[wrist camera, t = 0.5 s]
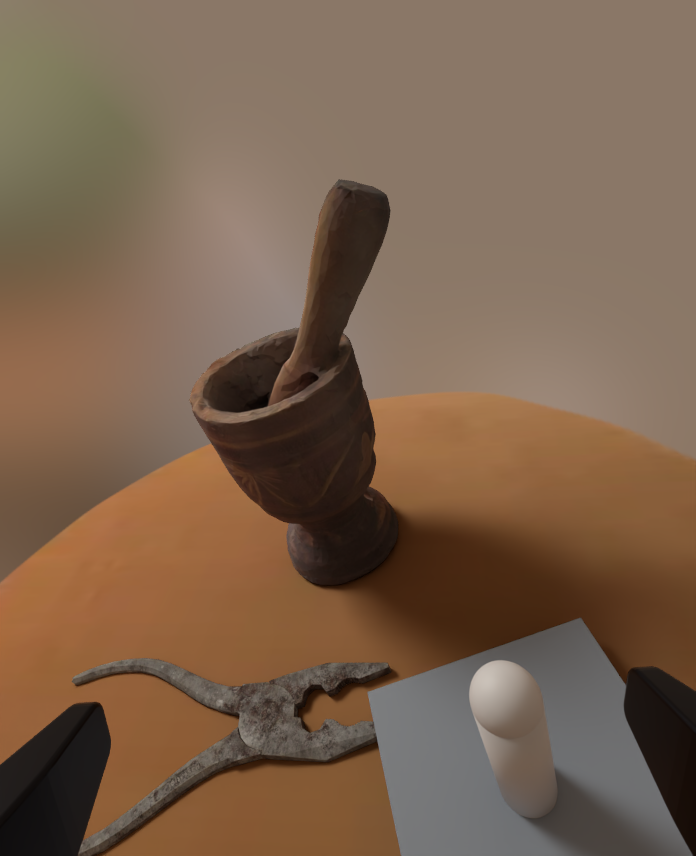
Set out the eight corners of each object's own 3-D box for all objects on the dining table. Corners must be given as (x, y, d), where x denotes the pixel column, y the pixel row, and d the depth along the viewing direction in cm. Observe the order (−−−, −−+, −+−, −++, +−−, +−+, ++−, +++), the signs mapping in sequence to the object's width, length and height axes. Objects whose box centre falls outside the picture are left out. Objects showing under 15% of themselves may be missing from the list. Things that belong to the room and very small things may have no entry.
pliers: (45, 683, 29) (356, 560, 29) (54, 690, 29) (360, 569, 29) (-25, 898, 21) (406, 727, 21) (-10, 903, 21) (411, 735, 21)
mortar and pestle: (414, 454, 36) (327, 163, 25) (482, 526, 29) (402, 164, 18) (273, 527, 34) (111, 252, 23) (307, 623, 27) (99, 291, 16)
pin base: (781, 945, 14) (878, 856, 9) (451, 1053, 14) (364, 1026, 9) (581, 635, 22) (573, 499, 17) (376, 707, 22) (309, 593, 17)
